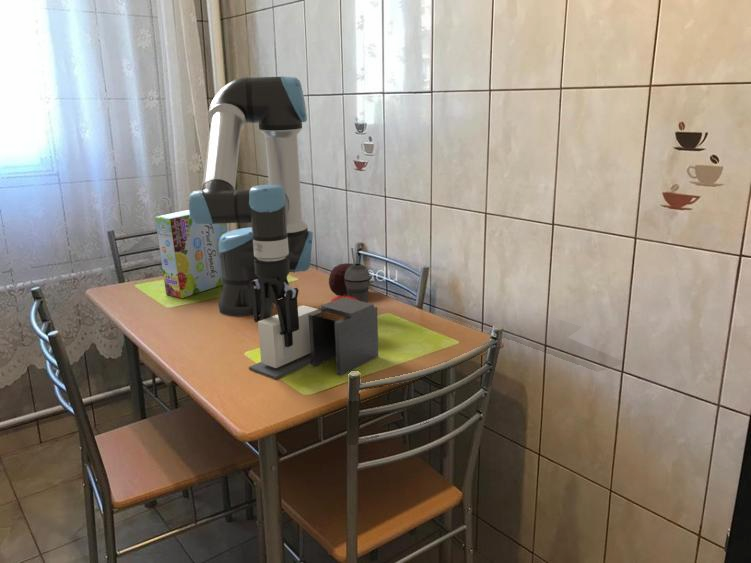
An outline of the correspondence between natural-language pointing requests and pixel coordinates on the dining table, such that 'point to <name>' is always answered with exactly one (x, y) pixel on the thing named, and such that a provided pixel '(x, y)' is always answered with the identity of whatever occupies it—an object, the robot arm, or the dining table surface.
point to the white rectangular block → (271, 338)
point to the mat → (281, 367)
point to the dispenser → (344, 334)
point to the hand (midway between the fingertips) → (278, 355)
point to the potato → (338, 279)
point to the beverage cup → (357, 281)
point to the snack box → (189, 254)
